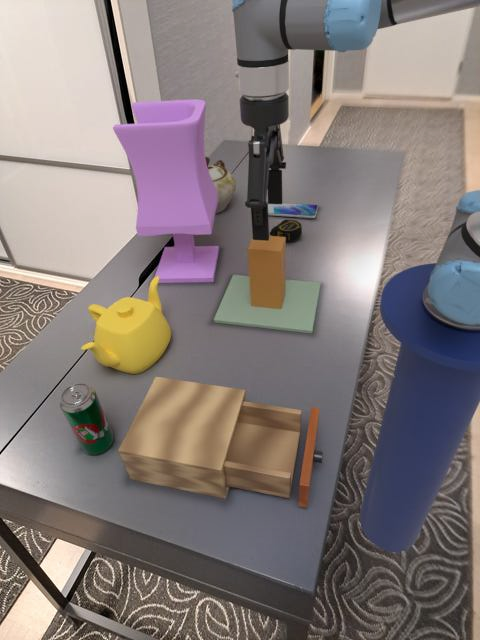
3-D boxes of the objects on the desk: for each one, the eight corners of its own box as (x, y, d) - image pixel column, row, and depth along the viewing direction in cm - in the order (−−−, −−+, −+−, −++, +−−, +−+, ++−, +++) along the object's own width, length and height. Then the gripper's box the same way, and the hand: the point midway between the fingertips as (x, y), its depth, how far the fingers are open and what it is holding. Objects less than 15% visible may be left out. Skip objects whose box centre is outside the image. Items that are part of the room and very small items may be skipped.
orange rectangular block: (285, 294, 95) (285, 236, 85) (281, 309, 91) (281, 251, 82) (256, 291, 96) (253, 234, 87) (251, 306, 92) (247, 248, 83)
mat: (320, 285, 97) (320, 282, 97) (312, 333, 86) (312, 330, 85) (233, 277, 102) (233, 274, 101) (213, 322, 90) (213, 319, 90)
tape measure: (285, 228, 117) (285, 216, 115) (306, 236, 114) (307, 223, 111) (269, 239, 113) (269, 226, 111) (291, 247, 110) (291, 234, 107)
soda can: (97, 425, 73) (75, 376, 65) (121, 436, 71) (101, 387, 63) (75, 449, 69) (49, 401, 62) (100, 461, 67) (76, 413, 60)
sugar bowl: (220, 227, 120) (214, 173, 110) (172, 219, 125) (163, 167, 115) (248, 196, 133) (245, 146, 123) (204, 190, 138) (198, 141, 128)
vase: (162, 249, 113) (132, 102, 90) (223, 247, 112) (208, 98, 89) (149, 285, 101) (111, 127, 79) (217, 284, 100) (198, 123, 77)
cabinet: (248, 420, 72) (245, 389, 67) (226, 499, 62) (221, 470, 57) (164, 406, 75) (155, 376, 70) (130, 479, 65) (117, 450, 60)
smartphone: (266, 201, 128) (318, 204, 124) (266, 204, 128) (318, 207, 125) (260, 212, 122) (315, 216, 119) (261, 215, 123) (315, 219, 119)
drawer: (325, 432, 68) (327, 409, 64) (316, 510, 59) (318, 488, 55) (232, 417, 71) (230, 394, 67) (210, 488, 62) (206, 466, 58)
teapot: (132, 305, 96) (120, 264, 89) (193, 323, 90) (186, 280, 83) (61, 375, 82) (40, 332, 75) (128, 401, 76) (112, 357, 69)
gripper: (256, 74, 77) (262, 190, 91) (217, 120, 59) (231, 255, 73) (299, 73, 75) (298, 191, 89) (273, 119, 57) (276, 258, 71)
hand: (268, 220), depth 81 cm, fingers open, 13 cm apart
